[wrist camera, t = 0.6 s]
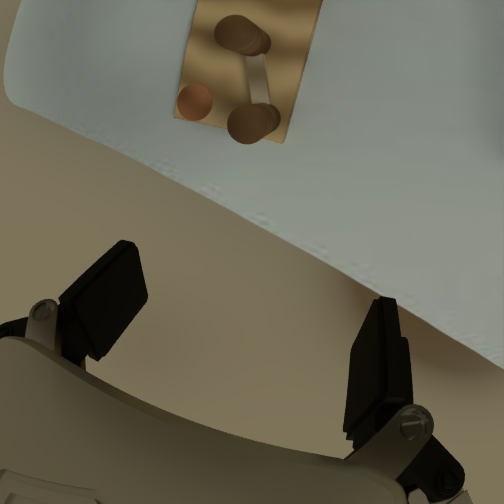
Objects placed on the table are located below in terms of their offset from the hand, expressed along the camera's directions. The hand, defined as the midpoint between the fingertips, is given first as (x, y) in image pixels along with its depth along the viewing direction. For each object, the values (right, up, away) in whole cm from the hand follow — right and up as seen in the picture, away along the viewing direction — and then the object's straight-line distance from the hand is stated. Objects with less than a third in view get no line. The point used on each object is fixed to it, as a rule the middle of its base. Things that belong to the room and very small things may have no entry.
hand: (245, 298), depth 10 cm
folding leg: (+1, +20, +16) cm, 26 cm away
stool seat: (0, +26, +16) cm, 31 cm away
